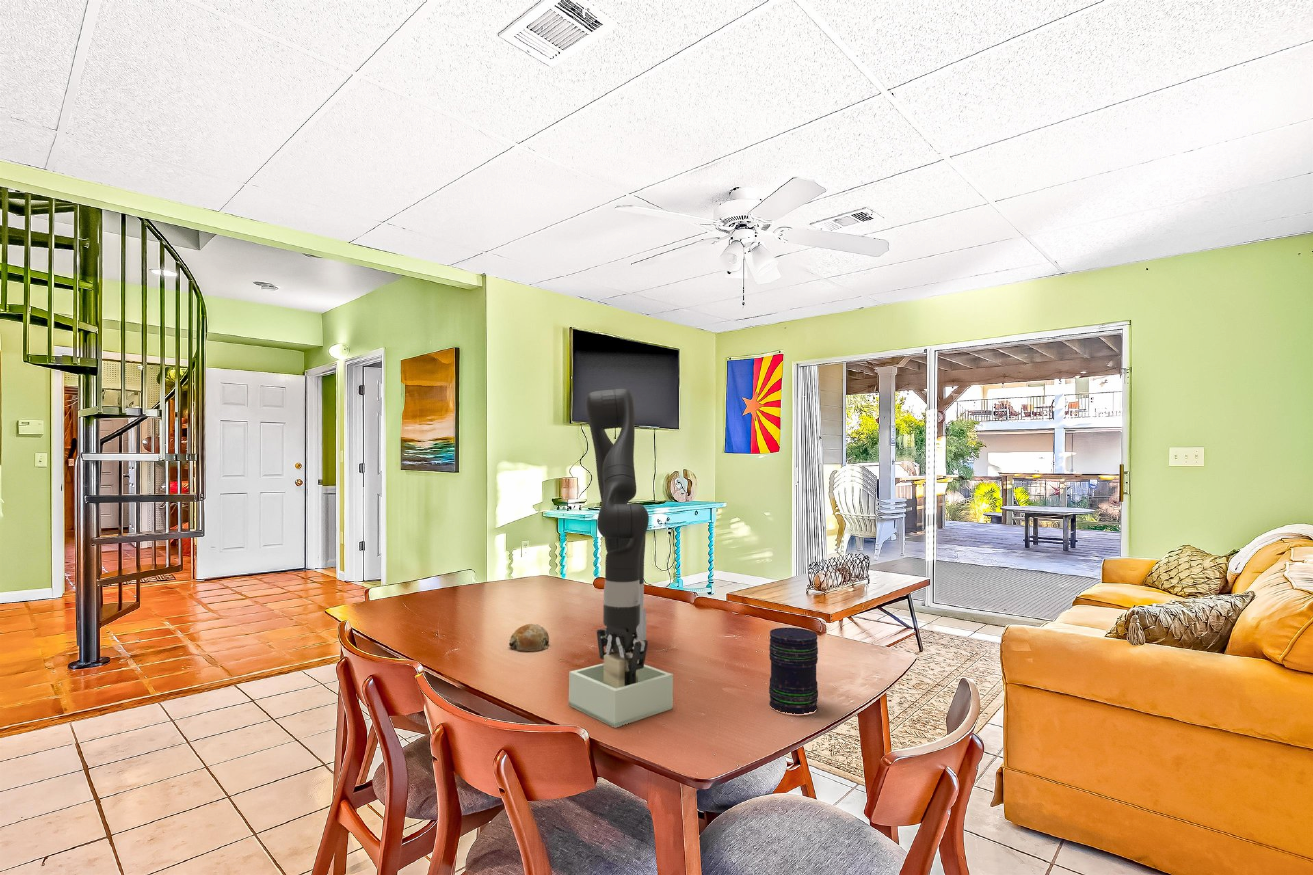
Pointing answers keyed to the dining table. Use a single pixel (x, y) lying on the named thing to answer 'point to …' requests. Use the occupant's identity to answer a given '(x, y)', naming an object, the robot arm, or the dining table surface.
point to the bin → (620, 695)
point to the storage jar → (793, 670)
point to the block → (615, 670)
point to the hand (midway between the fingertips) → (620, 685)
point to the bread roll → (529, 638)
